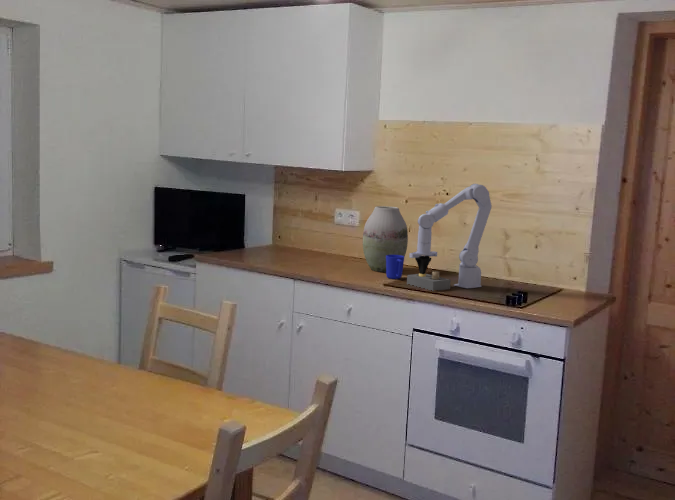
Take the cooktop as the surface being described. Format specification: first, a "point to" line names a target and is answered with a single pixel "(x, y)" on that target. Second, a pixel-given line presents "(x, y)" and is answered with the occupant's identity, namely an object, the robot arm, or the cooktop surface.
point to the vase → (384, 236)
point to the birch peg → (435, 275)
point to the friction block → (428, 282)
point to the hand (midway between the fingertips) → (422, 273)
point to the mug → (394, 266)
